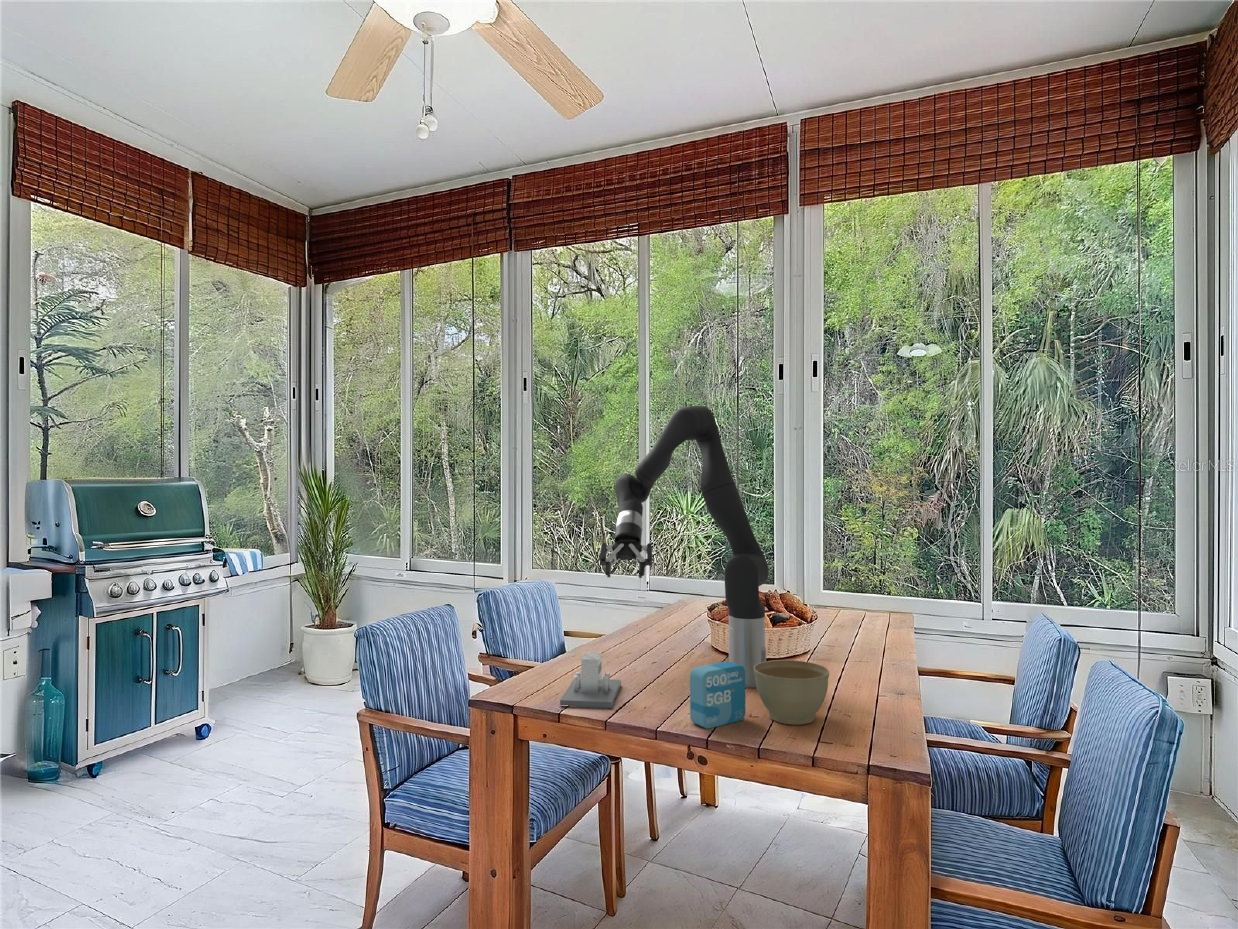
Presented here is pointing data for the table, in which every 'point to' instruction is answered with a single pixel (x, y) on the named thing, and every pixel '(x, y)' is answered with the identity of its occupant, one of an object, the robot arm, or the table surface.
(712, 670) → the data package
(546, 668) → the table surface
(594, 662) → the block
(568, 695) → the drive dock
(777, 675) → the planter bowl
